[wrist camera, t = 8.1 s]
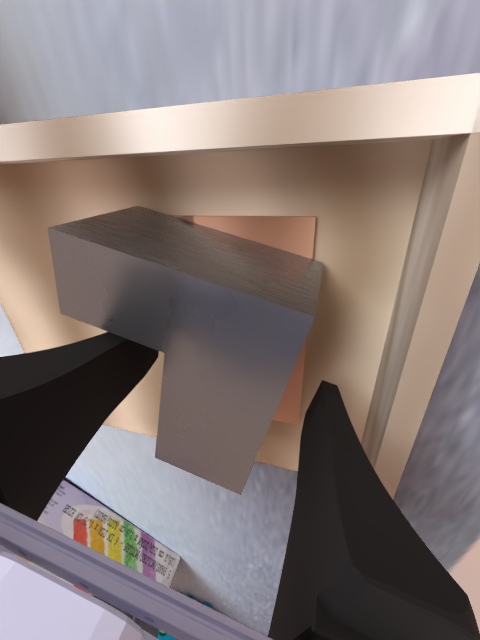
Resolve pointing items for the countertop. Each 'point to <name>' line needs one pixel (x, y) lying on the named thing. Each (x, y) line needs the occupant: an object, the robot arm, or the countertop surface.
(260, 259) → the bracket
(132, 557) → the cake pan box
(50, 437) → the robot arm
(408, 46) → the countertop surface
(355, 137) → the board
